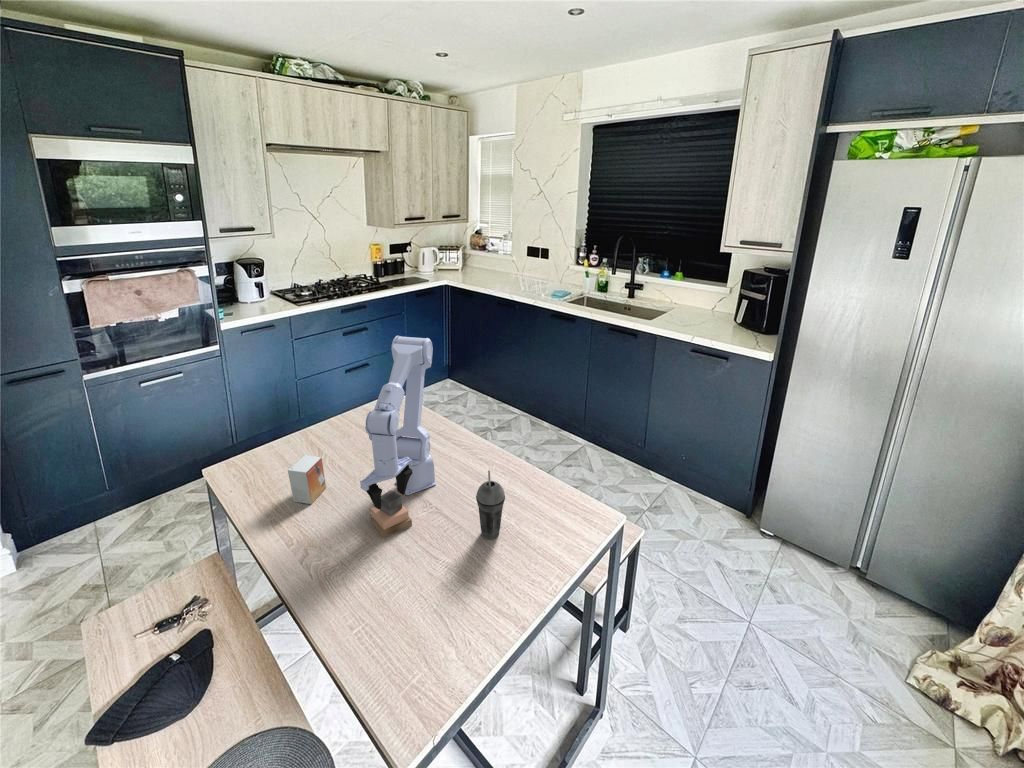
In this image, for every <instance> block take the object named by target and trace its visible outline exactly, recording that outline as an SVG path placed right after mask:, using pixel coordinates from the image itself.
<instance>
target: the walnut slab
mask: <svg viewBox="0 0 1024 768" xmlns="http://www.w3.org/2000/svg"><path fill="white" fill-rule="evenodd" d="M369 518H370V521H371V523H372V524H373V525H374V527H375V529H376V530H377V532H378V533H379V534H380V536H381V537H382V538H383V539H384V538H386V537H389V536H390V535H394V534H395V533H398V532H400V531H402V530H405V529H407V528H410V527H412V526H413V521H412V517H410V516H409V519H407V520H405V521H403V522H401V523H398V524H396V525H394V526H392V527H390V528H388V529H385V530H383V528H382V527H381V526H380V525H379V524H378V523H377V522H376V520H375V519H374V518H373V517H372V515H371V513H370V515H369Z"/></svg>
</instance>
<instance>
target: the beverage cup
mask: <svg viewBox="0 0 1024 768" xmlns="http://www.w3.org/2000/svg"><path fill="white" fill-rule="evenodd" d="M487 475H488V478H487V479H488V481H485V482H483V483H481V484H480V486H479V487H478V489H477V491H476V495H475V500H476V504H477V507H478V515H479V523H480V524H479V525H480V532H481V536H482V537H483V539H486V540H489V541H490V540H495V539H497V538H498V537H499V536H500V530H501V523H502V516H503V515H502V514H503V507H504V504H505V501H506V494H505V490H504V488H503V486H502V485H501V484H500V483H498V481H497V482H496V481H494V480H491V470H487Z"/></svg>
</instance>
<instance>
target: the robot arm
mask: <svg viewBox="0 0 1024 768" xmlns="http://www.w3.org/2000/svg"><path fill="white" fill-rule="evenodd" d="M433 351H434V349H433V342H432V340H431V339H430V338H429V337H426V338H425V337H412V336H411V337H410V336H400V335H395V337H394V338H393V340H392V343H391V354H392V358H393V359H392V360H393V363H392V368H391V372H390V376H389V379H388V383H385V384H384V385H382V387H381V390H380V392H379V395H378V398H377V400H376V403H375V405H374V408H373V409H372V410H371V411H369V412H368V413H367V415H366V419H365V427H364V428H365V432H366V434H367V435H368V439H369V440H370V441H371V445H372V446H371V447H372V454H373V455H372V457H373V465H374V467H373V468H374V469H373V470H371V472H370V473H369V474H368V475H367V476H366V477H364V479H362V480H361V481H360V480H359V484H360V489H361V490H362V491H365V492H366V493H367V494H368V496H369V498H370V500H371V502H372V505H373V507H376V508H377V509H381V496H382V493H383V489H382V488H380V487H379V485H378V483H382V482H384V481H389V480H393V479H394V478H395V483H396V490H397V492H398V494H400V495H401V496H404V495H405V496H410V495H413V494H415V493H417V492H421V491H423V490H426V489H428V488H431V487H433V486H437V482H436V478H435V477H436V476H435V464H434V459H433V458H432V456H431V454H430V452H431V442H430V438H431V437H430V434H429V432H428V431H427V430H426V429H424V428H423V427H422V426H421V425H422V414H423V413H422V412H423V401H424V399H423V397H424V388H425V375H426V370H427V369H429V368H431V367H432V362H433ZM405 382H406V385H405ZM404 385H405V390H404V388H403V387H404ZM403 400H404V411H403V426H401V427H399V423H400V417H401V416H400V415H401V414H400V409H401V406H402V403H403Z"/></svg>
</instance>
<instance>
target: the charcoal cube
mask: <svg viewBox="0 0 1024 768" xmlns="http://www.w3.org/2000/svg"><path fill="white" fill-rule="evenodd" d="M402 502H403V501H402V494H400V493H397V492H396V491H394V490H392V489H390V490H388V491H387V492H385V493H383V494H381V509H380V510H381V511H382V512H384V513H386V514H387V515H389V516H392V515H393V514H395V513H396V512H398V511H399V510H401V509H402V505H403V503H402Z"/></svg>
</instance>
